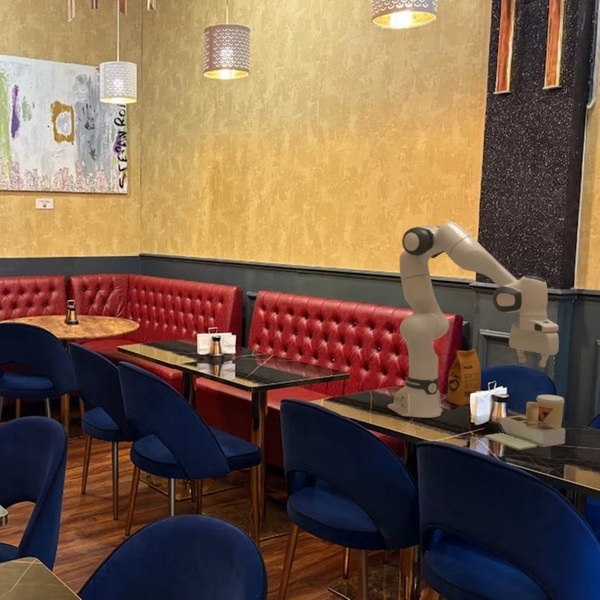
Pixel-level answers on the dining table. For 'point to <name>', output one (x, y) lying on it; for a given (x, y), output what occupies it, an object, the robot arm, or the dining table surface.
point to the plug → (532, 413)
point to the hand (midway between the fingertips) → (532, 364)
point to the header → (533, 431)
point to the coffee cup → (550, 409)
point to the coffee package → (464, 377)
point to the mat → (510, 441)
